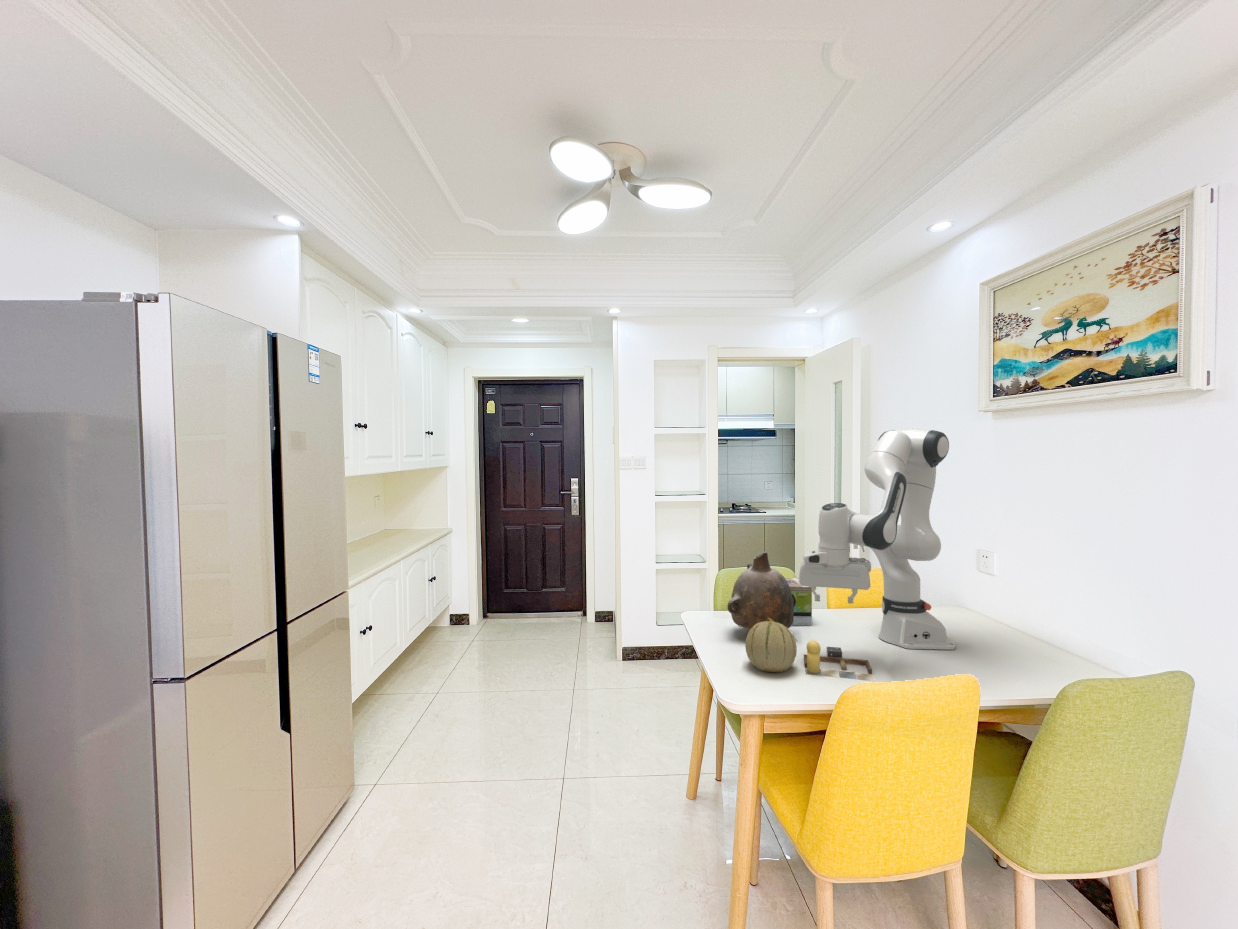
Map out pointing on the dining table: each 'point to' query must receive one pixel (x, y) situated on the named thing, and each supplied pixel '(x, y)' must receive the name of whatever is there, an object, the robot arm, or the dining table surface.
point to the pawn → (813, 657)
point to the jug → (761, 596)
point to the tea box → (801, 602)
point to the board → (843, 668)
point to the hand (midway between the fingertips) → (833, 602)
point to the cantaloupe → (771, 646)
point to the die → (834, 652)
